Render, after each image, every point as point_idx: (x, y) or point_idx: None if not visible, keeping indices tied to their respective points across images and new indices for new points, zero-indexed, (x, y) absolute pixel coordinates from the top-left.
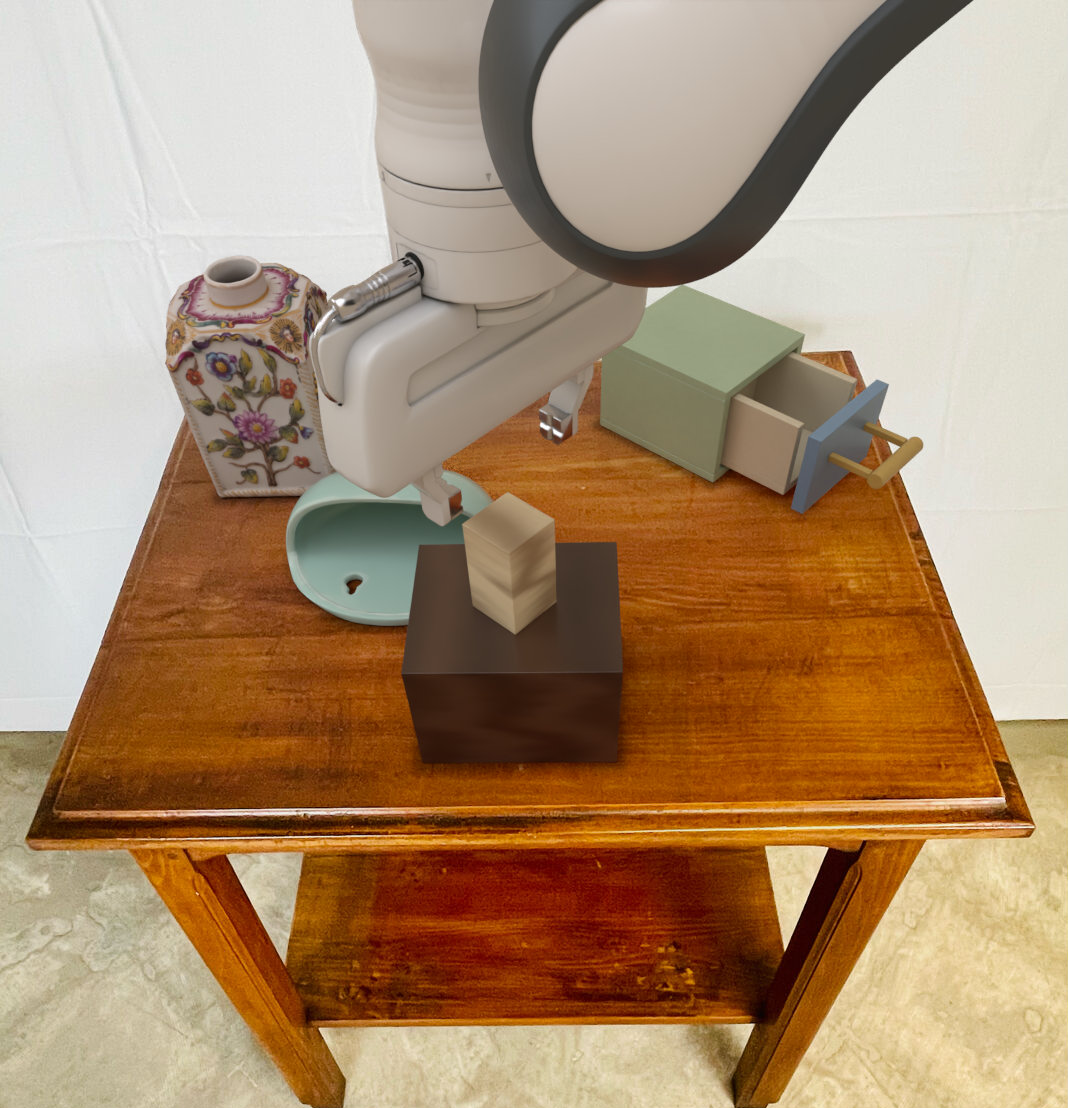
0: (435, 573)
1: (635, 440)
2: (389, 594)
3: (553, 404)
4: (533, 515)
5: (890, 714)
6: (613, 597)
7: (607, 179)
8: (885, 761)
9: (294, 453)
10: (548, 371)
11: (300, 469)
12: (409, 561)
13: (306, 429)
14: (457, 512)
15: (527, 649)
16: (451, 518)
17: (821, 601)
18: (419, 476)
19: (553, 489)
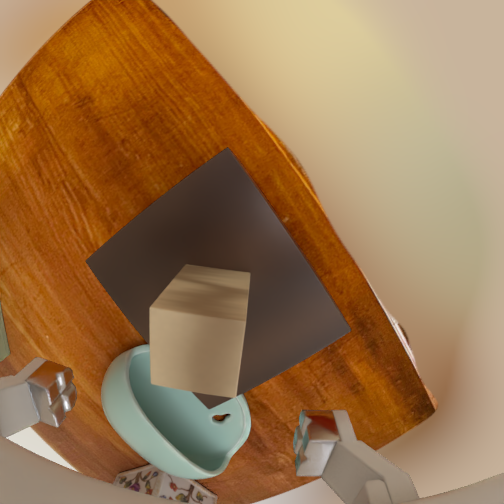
0: None
1: (3, 326)
2: None
3: (36, 413)
4: (162, 335)
5: (96, 40)
6: (145, 217)
7: None
8: (133, 22)
9: (174, 493)
10: (17, 496)
11: (176, 483)
12: (178, 401)
13: None
14: (317, 414)
15: (260, 249)
16: (330, 412)
17: (33, 132)
18: (460, 491)
19: (61, 353)
